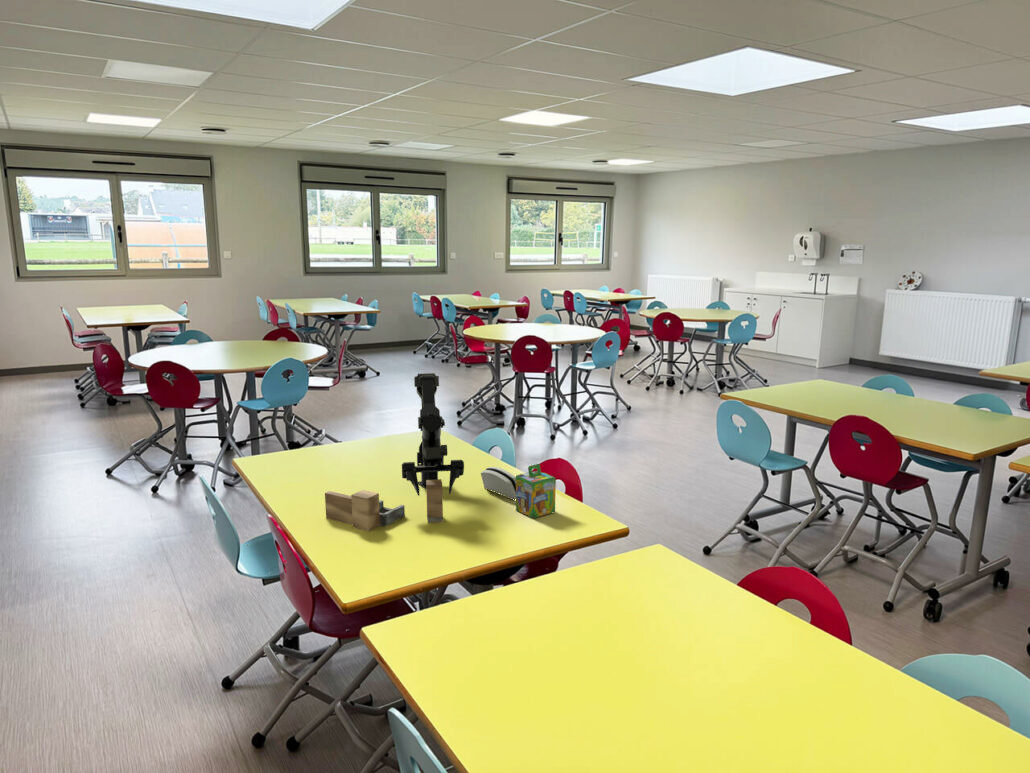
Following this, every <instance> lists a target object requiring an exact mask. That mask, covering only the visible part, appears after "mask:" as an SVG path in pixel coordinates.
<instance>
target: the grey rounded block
mask: <svg viewBox="0 0 1030 773" xmlns="http://www.w3.org/2000/svg"><path fill="white" fill-rule="evenodd" d="M480 476H481V480H482V484H483V487H484V489H485V488H487V489H489V490H488V491H490V490H492V491H495V492H497V493H500V494H502V495H505V496H507V497H509V498H512V499H514V500H515V499H516V475H514V474H513V473H511V472H509V471H507V470H506V469H503V468H502V467H498V466H488V467H487V468H485V469H484V470H482V471H481V473H480ZM487 489H486V490H487ZM492 491H491V492H492ZM495 492H494V493H495ZM497 493H496V494H497ZM500 494H499V495H500ZM502 495H501V496H502ZM507 497H506V498H507ZM509 498H508V499H509ZM512 499H511V500H512ZM514 500H513V501H514Z"/></svg>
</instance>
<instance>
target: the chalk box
mask: <svg viewBox="0 0 1030 773" xmlns="http://www.w3.org/2000/svg"><path fill="white" fill-rule="evenodd" d="M534 469H535V470H534ZM527 470H528V472H525V473H520V474H517V475H515V477H516V501H515V511H516V510H517V511H516V512H518V511H519V513H520V512H521V513H520V514H523V515H525V516H527V515H528V517H529V516H530V517H529V518H531V517H532V519H536V517H537V518H539V516H540V517H542V515H544V516H546V515H545V514H548V515H550V514H549V513H551V514H553V513H552V512H555V513H556V486H557V485H556V482H557V481H556V480H557V479H556V477H554V476H553V475H550V474H548V473H546V472H542V470H541V466H540V463H536V464H533V465H528V467H527ZM533 470H534V471H533Z"/></svg>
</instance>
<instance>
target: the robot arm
mask: <svg viewBox="0 0 1030 773" xmlns="http://www.w3.org/2000/svg"><path fill="white" fill-rule="evenodd" d="M413 381H414V383H413V384H414V385H413V386H414V388H416V394H417V395H418V396H419V397H418V398H420V400H421V401H420V402H421V409H420V410H419V416H418V417H417V426H418V429H419V430H420V431H421V440H422V441H421V442H420V444H419V446H418V451H417V452H416V463H415V461H407V462H403V463H402V464H401V478H402V479H406V481H409V482H410V483H411V485H412V486H413V488H414V490H415V492H416V495H417V497H420V487H419V486H421V487H423V488H424V489H426V480H437V479H439V472H449V485H448V494H449V495H451V494H452V490H453V487H454V484H455V481H456V479H459V478H460V476H463V475H464V473H465V472H464V471H465V462H464V460H463V459H451V460H450V463H449V464H444V459H445V458H444V457H447V456H448V444H441V441H442V440H441V436H442V428H444V426H446V425H445V424H446V422H445V419H443V416H441V412H440V409H439V408H438V407H437V406H436V398H435V397H436V396H435V395H436V394H437V391H438V387H440V377H439V375H436V373H435V372H432V373H431V372H429V373H428V372H427V373H425V372H424V373H423V372H422V373H417V375H416V376H414V377H413ZM417 473H418V474H419V473H420V474H421V478H420V479H421V481H419V480H418V474H417Z"/></svg>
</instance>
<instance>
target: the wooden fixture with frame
mask: <svg viewBox="0 0 1030 773" xmlns="http://www.w3.org/2000/svg"><path fill="white" fill-rule="evenodd" d="M324 501H325V502H324V503H325V506H324V507H325V519H327V520H332V521H336V522H340V523H344V524H347V525H352V528H354V529H358V530H361V531H365V532H370V531H373V530H375V529H376V528H378V527H384V528H385V527H386V526H389V525H390V524H393V523H395V522H397V521H398V520H400V519H401V520H402V518H405V515H406V514H405V513H406V510H405V505H404V504H400V505H398V506H396V507H394V508H390V507H386V506H384V500H382V499H380V494H379V492H375V491H372V490H371V491H370V490H366V489H362V490H359V491H357V492H355V493H353V494H351V495H349V494H345V493H341V492H335V491H331V490H328V491H326V492H324Z"/></svg>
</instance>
